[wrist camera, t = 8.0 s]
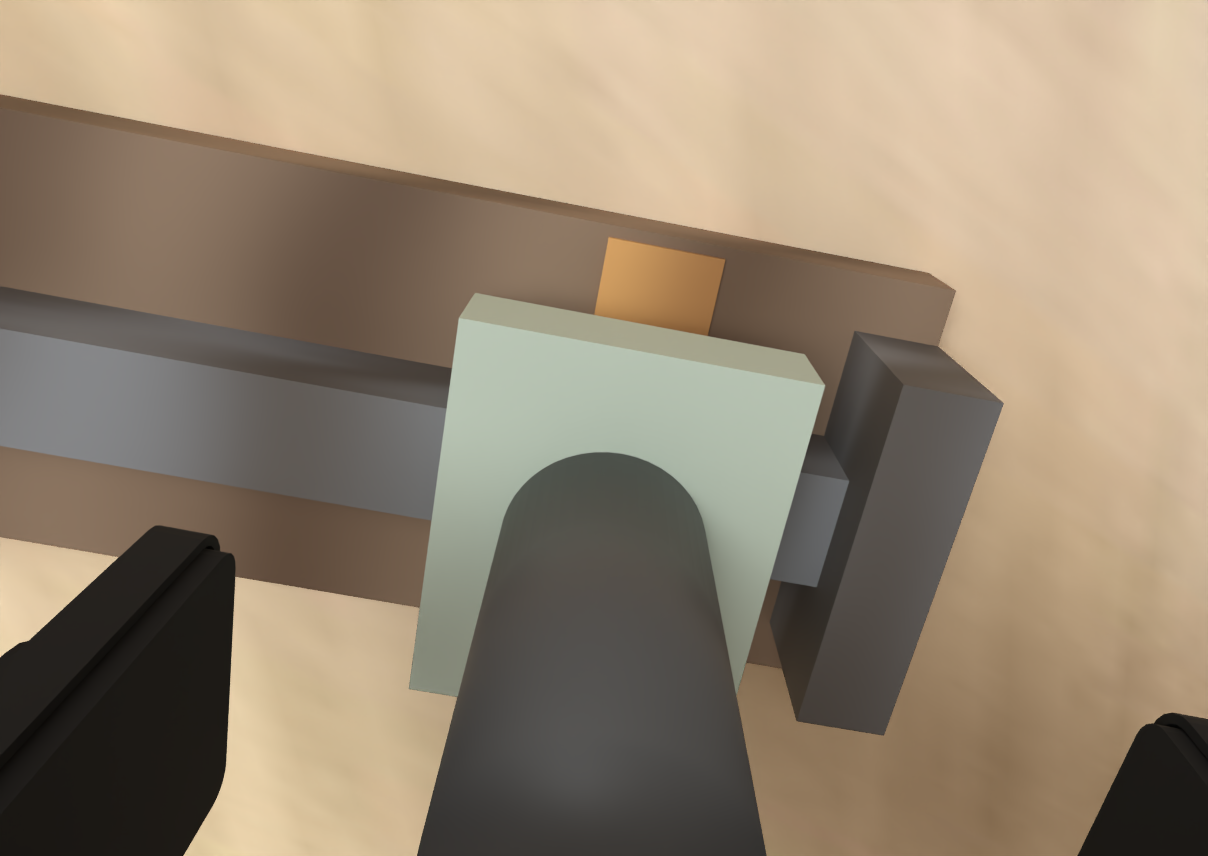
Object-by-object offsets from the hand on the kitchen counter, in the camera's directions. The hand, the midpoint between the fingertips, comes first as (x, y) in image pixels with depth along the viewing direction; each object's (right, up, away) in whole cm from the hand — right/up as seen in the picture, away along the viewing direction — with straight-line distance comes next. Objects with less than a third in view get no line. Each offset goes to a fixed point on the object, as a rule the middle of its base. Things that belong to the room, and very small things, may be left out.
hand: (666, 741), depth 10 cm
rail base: (-5, +4, +9) cm, 11 cm away
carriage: (-1, +3, +7) cm, 8 cm away
